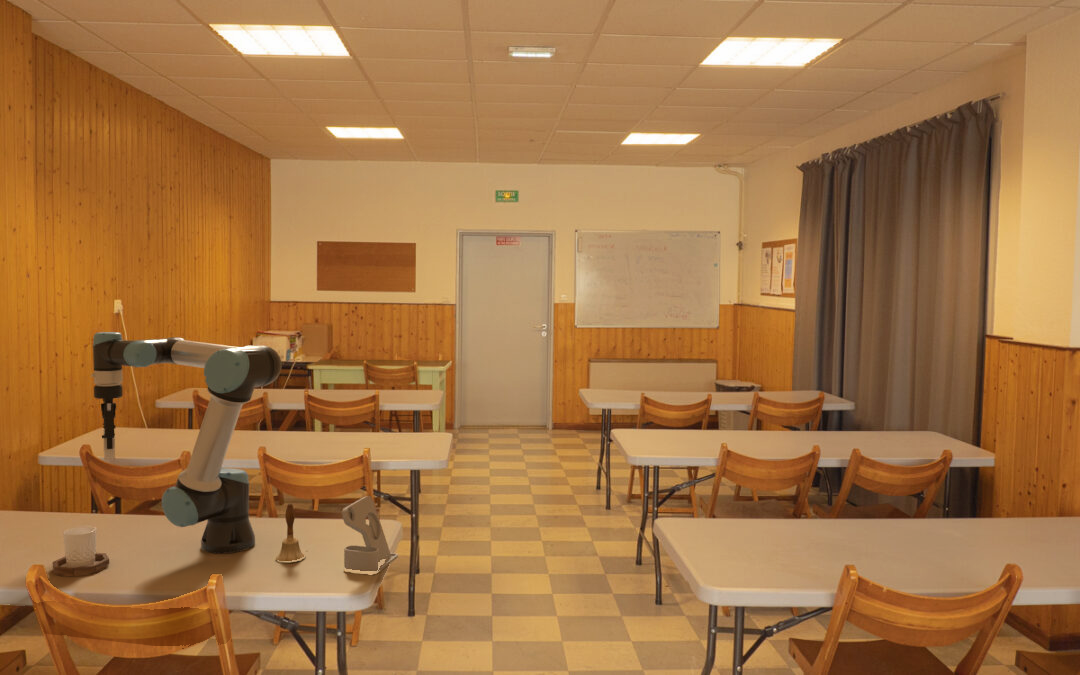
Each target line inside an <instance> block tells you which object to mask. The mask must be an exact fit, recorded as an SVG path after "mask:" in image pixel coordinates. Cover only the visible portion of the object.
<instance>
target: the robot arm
mask: <svg viewBox="0 0 1080 675" xmlns="http://www.w3.org/2000/svg"><path fill="white" fill-rule="evenodd" d="M92 357H93V359H92V360H93V373H90V374H91V377H92V378H93V384H95V385H94V386H93V398H95V399H98V400H102V401H103V402H102V403H100V409H101V410H100V412H101V416H102V419H103V424H102V425H103V427H102V428H103V430H102V431H103V432H102V433H103V434H102V435H101V439H103V452H104V453H103V454H104V456H103V457H104V461H111V460H112V461H113V460H116V444H115V442H116V441H115V440H116V438H115V436H116V433H115V430H116V424H115V418H116V411H117V404H116V402H114V399H119V398H122V397H123V392H124V391H123V390H124V389H123V384H122V383H123V380H124V379H123V378H124V377H123V376H124V375H123V366H124V367H134V368H147V367H149V366H150V365H159V364H172V365H180V366H186V367H194V368H200V369H201V368H202V369H203V376H204V377H205V379H204V382H205V383H206V386H207V388H206V389H207V392H208V393H209V395H210V398H209V400H208V403H207V404H208V405H207V408H206V410H205V413H204V416H203V420H202V422H201V425H200V428H199V431H198V435H197V436H196V441H195V443H194V445H193V446H194V447H193V450H192V452H191V456H190V459H189V462H188V465H187V467H186V468H185V469H184V470H182V471H181V472H180V473H179V474H178V477H177V479H176V483H175V485H174V486H171V487H169V488H167V489H166V490H165V491H164V492H163V495H162V496H161V508H162V511H163V513H164V515H165V517H166V520H168V521H169V522H170V523H171V524H172V525H174V526H176V527H179V528H185V527H190V526H195V525H197V524H199V523H202V522H205V521H206V525H205V527H204V530H203V533H202V537H201V540H200V548H201V550H202V551H203V552H206V553H209V554H229V553H237V552H242V551H245V550H248V549H250V548H252V547H254V546H255V544H256V536H255V533H254V529H253V527H252V524H251V521H250V515H249V513H250V512H249V511H250V508H249V506H250V502H249V501H250V482H249V479H250V478H249V474H248V473H247V471H246V470H244V469H238V468H225V467H224V468H222V467H223V464H224V461H225V457H226V455H227V452H228V449H229V446H230V443H231V440H232V437H233V434H234V432H235V429H236V425H237V424H238V420H239V417H240V414H241V410H242V408H243V405H245V404H246V403H249V402H250V401H251V399H252V396H253V394H254V390H255V389H256V388H259V387H260V388H261V387H265V386H268V385H270V384H273V382H275V381H276V380H277V379H278V378H279V376H280V374H281V372H282V368H283V367H282V366H283V365H282V364H283V363H282V358H281V355H280V354H279V353H278V352H277V351H276V350H275V348H272V347H271V346H268V345H262V344H261V345H260V344H258V345H250V344H249V345H245V346H234V345H232V346H231V345H225V344H217V343H210V342H209V343H208V342H202V341H201V342H200V341H194V340H185V338H182V337H165V338H164V337H163V338H154V339H152V338H151V339H136V340H133V339H132V340H131V339H130V340H127V339H123V335H122V333H121V332H117V331H107V332H106V331H100V332H96V333H94V334H93V340H92Z"/></svg>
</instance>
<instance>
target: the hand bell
mask: <svg viewBox="0 0 1080 675" xmlns="http://www.w3.org/2000/svg"><path fill="white" fill-rule="evenodd" d="M284 515H285V522H286V526H287V528H286V529H287V531H286V538H284V539H283V540H282V542H281V549H280V552H279V553H278V555H277V556H276V557H275V559H276V560H279V561H292V560H297V559H300V558H302V557H304V555H305V554H304V553H303V551H302V549H301V547H300V544H299V539H297V538H295V537H294V523H295V517H296V513H295V509H294V505H293V504H292V503H287V507H286V510H285V514H284ZM276 560H275V561H276Z"/></svg>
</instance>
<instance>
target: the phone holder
mask: <svg viewBox="0 0 1080 675" xmlns="http://www.w3.org/2000/svg"><path fill="white" fill-rule="evenodd" d="M341 517H342V520H343V523H344V524H345V525H346V526H348V527H349V528H351V529H352V530H353V531H354V530H355V531H356V532H358V533H359V534H361V536H362V539H363V541H364V545H365V546H362V545H348V546H345V547H344V549H343V550H344V554H343V564H344V565H343V568H344V567H345V568H346V569H352V570H360V571H377V570H378V562H380V560H382V559H386V560H385V563H384V564H383V565H381V566H380V568H379V570H381V571H382V570H384V569H385V568H386V567H387V566H389V565H390V564H392V563H393V562H394V561H395V560H397V559H398V558H399V553H396V552H391V551H390V547H389V545H388V542H387V539H386V535H385V532H384V529H383V526H382V524H381V521H380V518H379V514H378V511H377V507H376V505H375V501H374V500H373V497H372V496H370V495H367V496H363V497H361V498H360V499H357V500H356V501H355V502H352V503H351V504H348V505H347V506H345V507H344V508H343V509H342V510H341ZM367 519H368V523H367V521H366V520H367ZM379 570H378V571H379Z"/></svg>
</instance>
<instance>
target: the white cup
mask: <svg viewBox="0 0 1080 675" xmlns="http://www.w3.org/2000/svg"><path fill="white" fill-rule="evenodd" d="M97 531H98V530H97V527H96V526H91V525H82V526H75V527H71V528H67V529H65V530H63V541H64V542H63V545H64V552H65V553H64V555H65V556H64V557H66V566H67V567H69V568H77V567H83V566H89V565H94V564H95V554H96V553H97Z"/></svg>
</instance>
